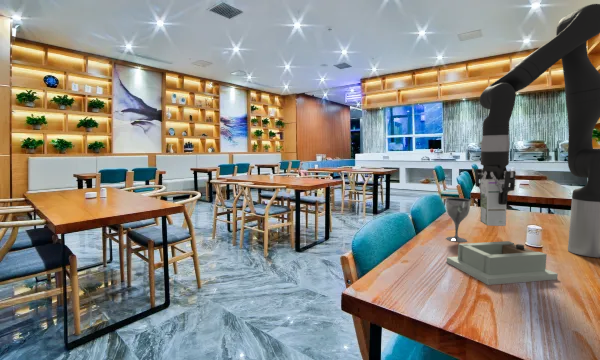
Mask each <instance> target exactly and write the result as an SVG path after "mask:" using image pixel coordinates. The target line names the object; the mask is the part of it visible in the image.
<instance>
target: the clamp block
mask: <svg viewBox="0 0 600 360" xmlns="http://www.w3.org/2000/svg"><path fill="white" fill-rule="evenodd" d="M528 252H536V251H535V250H532V249H529V248H527V247H525V245H524V244H521V243H514V244H513V245H503V250H502V254H512V253H528Z"/></svg>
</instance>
